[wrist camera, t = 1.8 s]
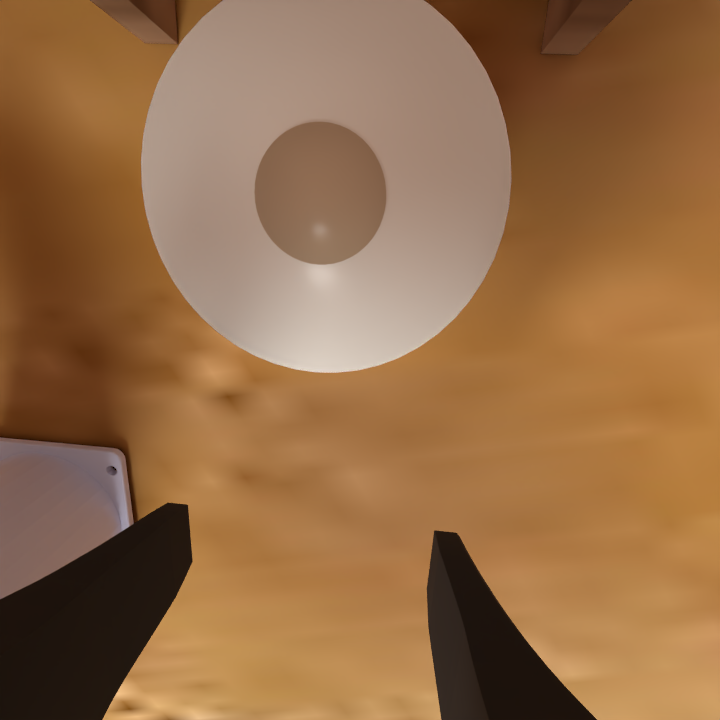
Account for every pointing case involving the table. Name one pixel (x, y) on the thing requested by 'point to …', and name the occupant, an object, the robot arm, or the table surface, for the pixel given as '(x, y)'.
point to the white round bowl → (326, 177)
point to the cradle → (561, 36)
